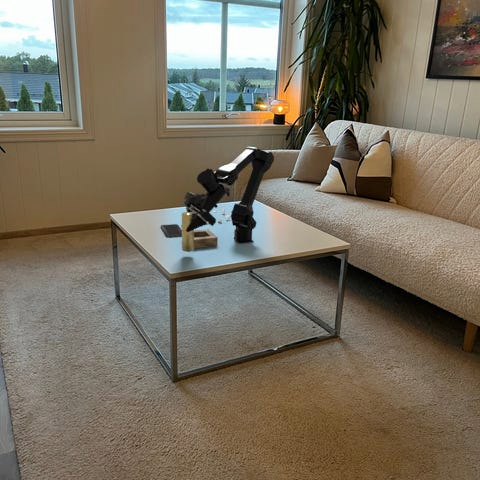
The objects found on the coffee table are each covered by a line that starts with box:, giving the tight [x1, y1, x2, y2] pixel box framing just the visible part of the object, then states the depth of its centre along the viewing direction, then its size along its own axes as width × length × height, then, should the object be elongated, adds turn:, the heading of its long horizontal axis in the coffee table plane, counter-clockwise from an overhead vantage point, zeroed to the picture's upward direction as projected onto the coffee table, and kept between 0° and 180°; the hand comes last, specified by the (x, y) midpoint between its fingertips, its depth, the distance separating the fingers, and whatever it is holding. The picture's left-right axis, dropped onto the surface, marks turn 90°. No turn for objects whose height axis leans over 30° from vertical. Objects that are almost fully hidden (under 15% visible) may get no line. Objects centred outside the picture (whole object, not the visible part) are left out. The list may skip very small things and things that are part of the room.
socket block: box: [194, 228, 218, 249], centre depth 191 cm, size 11×11×4 cm
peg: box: [181, 211, 195, 252], centre depth 174 cm, size 4×4×14 cm
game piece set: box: [207, 208, 231, 225], centre depth 225 cm, size 19×20×4 cm
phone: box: [160, 223, 182, 238], centre depth 204 cm, size 8×1×15 cm
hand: (184, 229), depth 173 cm, fingers closed on peg, 4 cm apart
